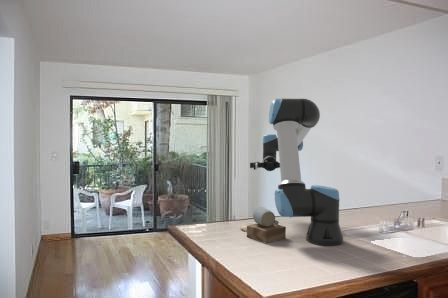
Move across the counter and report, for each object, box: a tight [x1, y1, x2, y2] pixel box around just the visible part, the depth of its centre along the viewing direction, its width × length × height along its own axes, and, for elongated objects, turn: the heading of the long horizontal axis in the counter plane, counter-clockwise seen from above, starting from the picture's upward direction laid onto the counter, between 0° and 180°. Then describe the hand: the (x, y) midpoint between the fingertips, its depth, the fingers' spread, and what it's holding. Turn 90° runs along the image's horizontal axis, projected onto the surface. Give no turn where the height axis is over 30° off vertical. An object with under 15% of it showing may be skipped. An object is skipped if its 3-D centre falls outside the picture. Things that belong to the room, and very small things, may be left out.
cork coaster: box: [240, 225, 248, 232], centre depth 174 cm, size 9×9×1 cm
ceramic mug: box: [252, 206, 280, 227], centre depth 161 cm, size 11×8×8 cm
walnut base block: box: [246, 223, 287, 244], centre depth 159 cm, size 12×12×5 cm
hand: (270, 166), depth 172 cm, fingers open, 13 cm apart
